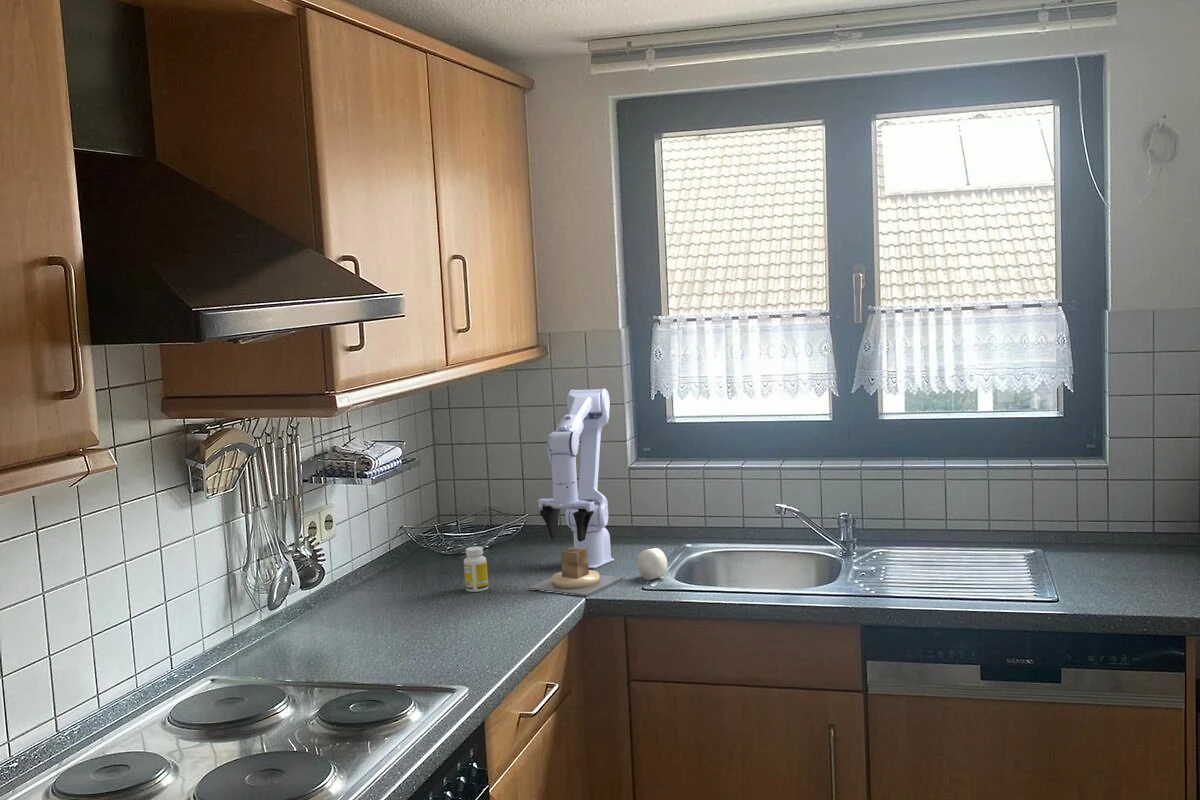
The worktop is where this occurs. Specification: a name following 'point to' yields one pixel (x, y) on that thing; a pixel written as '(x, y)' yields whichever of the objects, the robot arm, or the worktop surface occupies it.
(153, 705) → the worktop surface
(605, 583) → the base
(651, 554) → the white round ball
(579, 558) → the block
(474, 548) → the supplement bottle
